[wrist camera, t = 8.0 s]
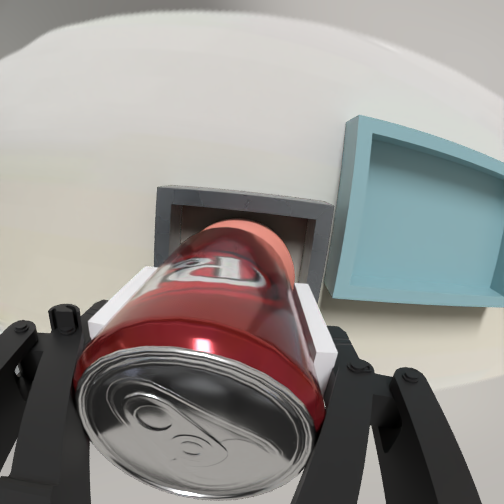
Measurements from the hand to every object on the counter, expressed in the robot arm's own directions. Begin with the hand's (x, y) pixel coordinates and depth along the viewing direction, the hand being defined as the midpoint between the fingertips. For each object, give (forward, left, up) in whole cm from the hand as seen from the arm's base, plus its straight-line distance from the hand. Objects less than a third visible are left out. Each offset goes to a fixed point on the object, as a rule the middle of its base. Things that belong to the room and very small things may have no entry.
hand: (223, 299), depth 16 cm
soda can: (0, 0, -2) cm, 2 cm away
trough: (+14, +9, -6) cm, 18 cm away
